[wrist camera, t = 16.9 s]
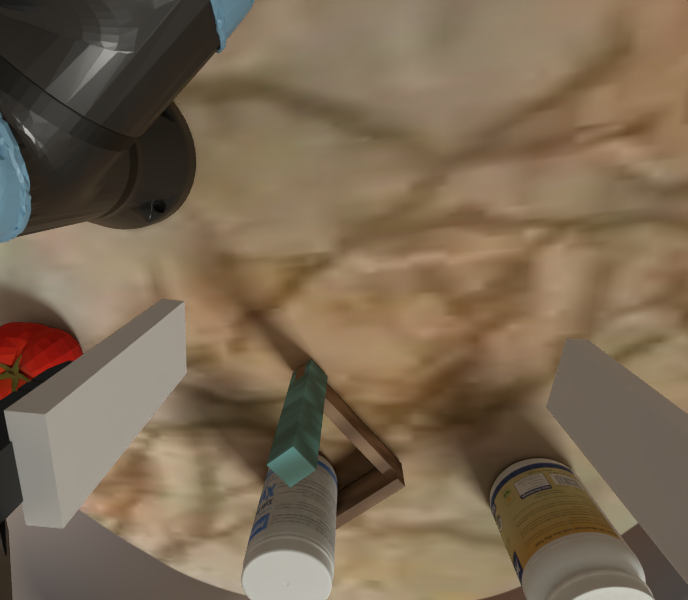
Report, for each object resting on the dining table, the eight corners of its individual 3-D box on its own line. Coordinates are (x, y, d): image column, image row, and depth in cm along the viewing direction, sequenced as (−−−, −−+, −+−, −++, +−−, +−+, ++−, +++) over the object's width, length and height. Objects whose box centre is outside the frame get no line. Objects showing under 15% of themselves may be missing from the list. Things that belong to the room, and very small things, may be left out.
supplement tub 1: (266, 445, 54) (236, 544, 40) (339, 448, 53) (334, 548, 39) (268, 504, 57) (241, 615, 43) (337, 507, 56) (332, 619, 43)
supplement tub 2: (468, 488, 55) (515, 622, 39) (543, 437, 52) (628, 558, 36) (522, 540, 58) (587, 685, 42) (596, 493, 55) (698, 630, 39)
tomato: (100, 388, 51) (65, 419, 45) (13, 385, 52) (-33, 416, 45) (86, 315, 48) (47, 338, 42) (-6, 313, 48) (-58, 335, 42)
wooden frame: (405, 460, 53) (426, 578, 38) (296, 530, 58) (276, 661, 42) (311, 359, 49) (292, 446, 34) (200, 442, 53) (139, 554, 38)
